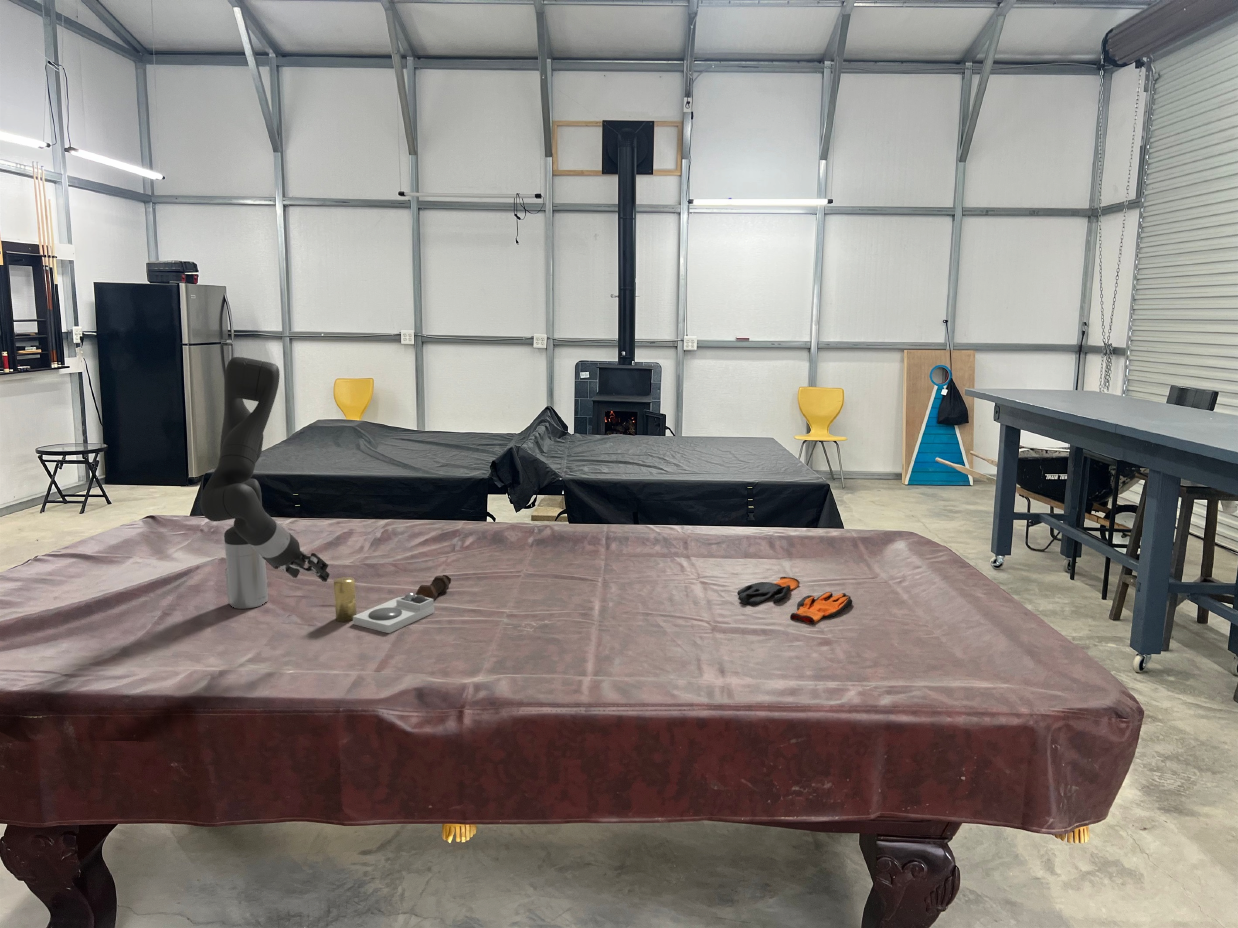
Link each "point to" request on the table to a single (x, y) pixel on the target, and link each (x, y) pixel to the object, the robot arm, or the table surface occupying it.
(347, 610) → the ball
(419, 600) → the rubber ball
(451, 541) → the table surface
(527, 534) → the table surface
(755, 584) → the pair of gloves
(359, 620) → the plate
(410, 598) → the steel ball
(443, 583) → the bolt
